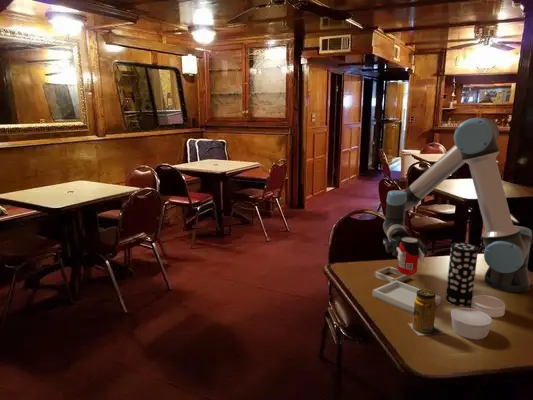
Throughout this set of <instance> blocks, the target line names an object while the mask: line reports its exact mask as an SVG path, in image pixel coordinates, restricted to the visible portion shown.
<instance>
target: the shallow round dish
mask: <svg viewBox="0 0 533 400" xmlns="http://www.w3.org/2000/svg"><path fill="white" fill-rule="evenodd" d="M470 308H471V309H475V310H479V311H481V312H484V313H486V314H487V315H489V316H490V317H491V318H501V317H503V316H504V315H505V313H506V303H505V302H504V301H503V300H502V299H500V298H497V297H495V296H491V295H483V294H479V295H474V296H473V297H472V302H471V305H470Z"/></svg>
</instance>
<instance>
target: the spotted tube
mask: <svg viewBox="0 0 533 400" xmlns="http://www.w3.org/2000/svg"><path fill="white" fill-rule="evenodd" d="M478 252H479V247H478V245H477V246H476V245H474V244H471V243H467V242H453V243H451V244H450V253H449V263H448V271H447V282H446V291H445V292H446V293H445V300H446V302H447V303H449V304H451V305H453V306H455V307H456V306H457V307H469V306H470V307H471V302H472V298H473V297H474V296H473V294H474V287H475V279H476V270H477V262H478V261H477V260H478Z"/></svg>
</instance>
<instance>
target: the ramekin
mask: <svg viewBox="0 0 533 400" xmlns="http://www.w3.org/2000/svg"><path fill="white" fill-rule="evenodd" d="M450 317H451V328H452V329H453V330H454V333H456V334H457V335H459V336H460V337H463V338H466V339H469V340H483V339H484V338H486V337H487V336H488V335H489V332H490V329H491V326H492V325H493V317H490V316H489V315H487V314H486V313H484V312H481V311H479V310H475V309H471V307H470V308H469V307H456V308H454V309H452V310H451V311H450Z"/></svg>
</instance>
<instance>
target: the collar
mask: <svg viewBox="0 0 533 400" xmlns="http://www.w3.org/2000/svg"><path fill="white" fill-rule="evenodd" d="M387 273H391V274H394V275H397V277H392V276H389V275H387ZM373 277H374V278H377V279H379V280H381V281H385V282H387V283H391V282H393V281H395V280H397V281H400V282H402V283H404V281H407V280H409V279H411V275H404V274H401V273H400V272H399V271H398V268H396V267H392V266H390V265H389V266H386V267H382V268H379V269H378V270H375V271H373Z"/></svg>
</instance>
